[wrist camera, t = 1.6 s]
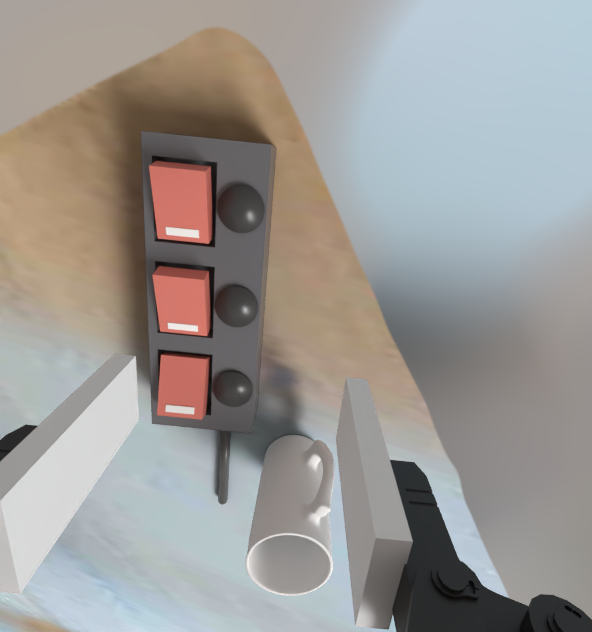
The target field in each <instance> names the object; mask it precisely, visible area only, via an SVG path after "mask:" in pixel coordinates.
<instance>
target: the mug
mask: <svg viewBox="0 0 592 632" xmlns="http://www.w3.org/2000/svg"><path fill="white" fill-rule="evenodd" d="M333 485H334V459H333V456H332V453H331V452H330V450H329V448H328V447H327V445H326V444H325V443H324V442H322V441H319V440H316V441H315V442H314V441H312V440H311V439H309V438H307V437H304V436H300V435H287V436H283V437H281V438H278V439H277V440H275V441H274V442H273V443H271V445H270V446H269V447H268V449H267V451H266V454H265V458H264V463H263V468H262V473H261V478H260V484H259V489H258V495H257V500H256V505H255V511H254V516H253V521H252V527H251V532H250V538H249V545H248V552H247V557H246V569H247V572H248V574H249V576H250V577H251V579H252V580H253V581H254V582H255V583H256V584H257V585H258V586H260V587H261V588H263V589H265V590H267V591H269V592H272V593H275V594H280V595H301V594H306V593H309V592H312V591H314V590H316V589H318V588H319V587H321V586H322V585H323V584H324V583H325V582H326V581H327V580H328V579H329V577H330V575H331V573H332V569H333V561H332V546H331V533H330V521H329V512H330V511H331V498H332V492H333Z"/></svg>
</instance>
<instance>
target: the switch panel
mask: <svg viewBox="0 0 592 632" xmlns="http://www.w3.org/2000/svg"><path fill="white" fill-rule="evenodd" d="M141 148H142V174H143V200H144V227H145V253H146V279H147V305H148V331H149V357H150V384H151V410H152V424H161V425H171V426H181V427H191V428H201V429H211V430H221V436H220V465H219V493H218V501H219V503H220V504H225V503H226V502H227V499H228V477H229V456H230V434H231V432H241V433H251V434H252V429H253V425H254V420H255V415H256V411H257V405H258V391H259V378H260V364H261V350H262V337H263V323H264V310H265V296H266V282H267V269H268V255H269V241H270V228H271V214H272V200H273V187H274V173H275V159H276V147H274V146H273V145H271V144H261V143H252V142H242V141H232V140H223V139H213V138H204V137H194V136H185V135H175V134H165V133H156V132H146V131H141ZM155 161H163V162H173V163H183V164H192V165H202V166H211V190H212V218H213V237H212V239H211V241H210V243H209V244H207V243H197V242H187V241H177V240H168V239H158V236H157V228H156V219H155V211H154V203H153V195H152V187H151V178H150V170H149V165H151V164H152V163H154V162H155ZM159 266H163V267H173V268H183V269H193V270H203V271H209V290H210V312H211V328H210V330H209V333H208V335H207V336H201V335H191V334H181V333H171V332H162V331H160V326H159V318H158V311H157V304H156V297H155V289H154V282H153V273H154V272H155V271H156V269H157V268H158V267H159ZM166 351H167V352H177V353H187V354H197V355H207V356H210V368H209V381H208V393H207V406H206V414H205V416H204V417H203V419H202V420H200V419H190V418H180V417H170V416H160V415H157V408H158V393H159V377H160V361H161V354H163V353H165V352H166Z"/></svg>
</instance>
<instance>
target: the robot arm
mask: <svg viewBox="0 0 592 632" xmlns="http://www.w3.org/2000/svg"><path fill="white" fill-rule="evenodd" d="M138 420H139V411H138V391H137V372H136V356H131V355H122V354H114V355H113V356H112V357H111V358H110V359H109V360H107V361H106V362H105V363H104V364H103V365H102V366H101V367H100V368H99V369H98V370H97V371H96V372H95V373H94V374H93V375H92V376H91V377H89V378H88V379H87V380H86V381H85V382H84V383H83V384H82V385H81V386H80V387H79V388H78V389H77V390H76V391H75V392H74V393H72V394H71V395H70V396H69V397H68V398H67V399H66V400H65V401H64V402H63V403H62V404H61V405H60V406H59V407H58V408H57V409H56V410H54V411H53V412H52V413H51V414H50V415H49V416H48V417H47V418H46V419H45V420H44V421H43V422H42V423H41V424H40V425H39V426H33V425H25V426H23V427H21V428H19V429H17V430H15V431H13V432H11V433H9V434H7V435H6V436H5V437H3V438H2V439H1V440H0V592H8V593H18V594H21V592H22V591H23V589H24V588H25V586H26V585H27V583H28V582H29V580H30V579H31V577H32V576H33V575H34V573H35V572H36V570H37V569H38V567H39V566H40V564H41V563H42V561H43V560H44V558H45V557H46V555H47V554H48V553H49V551H50V550H51V548H52V547H53V545H54V544H55V542H56V541H57V539H58V538H59V536H60V535H61V533H62V532H63V531H64V529H65V528H66V526H67V525H68V523H69V522H70V520H71V519H72V517H73V516H74V514H75V513H76V511H77V510H78V508H79V507H80V506H81V504H82V503H83V501H84V500H85V498H86V497H87V495H88V494H89V492H90V491H91V489H92V488H93V486H94V485H95V484H96V482H97V481H98V479H99V478H100V476H101V475H102V473H103V472H104V470H105V469H106V467H107V466H108V464H109V463H110V462H111V460H112V459H113V457H114V456H115V454H116V453H117V451H118V450H119V448H120V447H121V445H122V444H123V442H124V441H125V439H126V438H127V437H128V435H129V434H130V432H131V431H132V429H133V428H134V426H135V425H136V423H137V422H138ZM336 444H337V454H338V463H339V473H340V482H341V492H342V502H343V511H344V521H345V531H346V540H347V550H348V560H349V569H350V579H351V589H352V598H353V608H354V618H355V626H358V627H368V628H379V629H389V626H390V623H391V619H392V615H393V616H394V621H395V627H396V632H592V620H591V619H590V618H589V617H588V616H587V615H586V614H585V613H584V612H583V611H582V610H580V609H579V608H577V607H576V606H574V605H573V604H571V603H570V602H568V601H567V600H564V599H561V598H559V597H556V596H554V595H539V596H537V597H535V598H533V599H532V600H531V602H530V605H529V606H526V605H524V604H522V603H519V602H517V601H514V600H512V599H509V598H507V597H504V596H502V595H499V594H497V593H495V592H493V591H491V590H489V589H487V588H486V587H484V586H483V585H482V584H481V583H480V581H479V579H478V578H477V576H476V574H475V573H474V572H473V571H472V570H471V569H470V568H469V567H468V566H467V565H466V564H465V563H463V562H461V561H460V560H459V558H458V556H457V554H456V551H455V549H454V546H453V544H452V541H451V539H450V536H449V533H448V531H447V528H446V526H445V523H444V520H443V518H442V515H441V513H440V510H439V508H438V507H437V502H436V500H435V497H434V495H433V494H432V489H431V487H430V484H429V482H428V479H427V477H426V475H425V474H424V473H423V472H422V471H421V469H420V468H419V467H418V466H417V465H416V464H415V463H414V462H405V461H395V460H390V459H389V455H388V452H387V448H386V445H385V441H384V438H383V434H382V430H381V427H380V423H379V420H378V416H377V413H376V409H375V406H374V402H373V399H372V395H371V392H370V388H369V384H368V381H367V379H359V378H349V377H346V381H345V387H344V394H343V400H342V406H341V412H340V418H339V424H338V430H337V437H336Z"/></svg>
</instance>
